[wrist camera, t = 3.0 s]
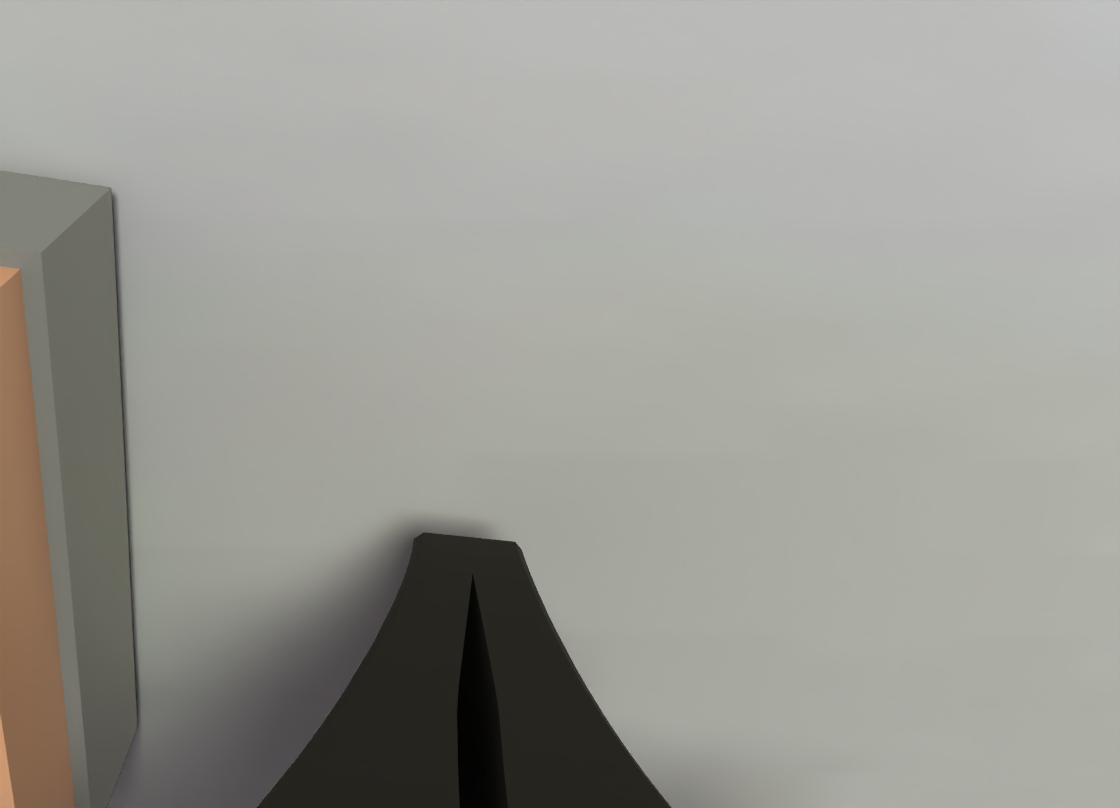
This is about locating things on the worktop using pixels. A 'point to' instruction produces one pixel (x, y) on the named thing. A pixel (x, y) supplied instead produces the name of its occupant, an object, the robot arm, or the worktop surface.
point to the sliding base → (61, 501)
